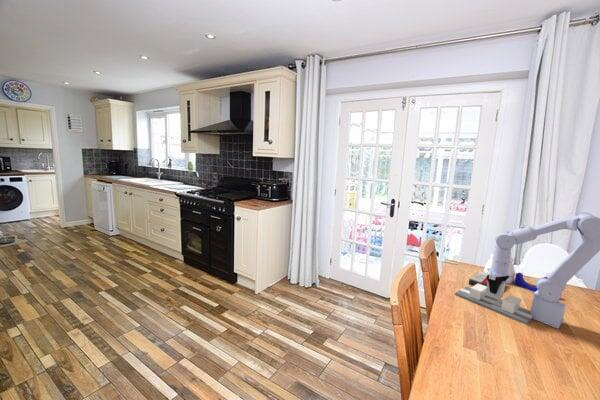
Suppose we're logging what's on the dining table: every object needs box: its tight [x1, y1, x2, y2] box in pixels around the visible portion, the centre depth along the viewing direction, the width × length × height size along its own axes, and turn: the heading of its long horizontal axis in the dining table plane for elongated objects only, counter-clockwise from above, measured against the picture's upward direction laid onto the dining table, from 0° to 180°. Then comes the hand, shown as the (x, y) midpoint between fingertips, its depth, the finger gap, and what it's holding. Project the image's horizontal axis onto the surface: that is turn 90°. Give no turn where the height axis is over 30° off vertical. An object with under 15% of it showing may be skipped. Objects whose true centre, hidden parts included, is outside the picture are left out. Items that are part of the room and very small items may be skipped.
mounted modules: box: [469, 284, 522, 314], centre depth 115 cm, size 16×8×4 cm, turn 37°
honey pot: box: [483, 253, 516, 284], centre depth 142 cm, size 13×13×18 cm
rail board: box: [454, 286, 533, 326], centre depth 116 cm, size 26×12×1 cm, turn 37°
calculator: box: [468, 270, 490, 287], centre depth 135 cm, size 11×4×15 cm
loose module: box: [485, 281, 507, 300], centre depth 114 cm, size 5×4×7 cm
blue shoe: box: [513, 272, 538, 292], centre depth 132 cm, size 12×4×6 cm, turn 27°
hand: (495, 291), depth 115 cm, fingers closed on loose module, 4 cm apart
